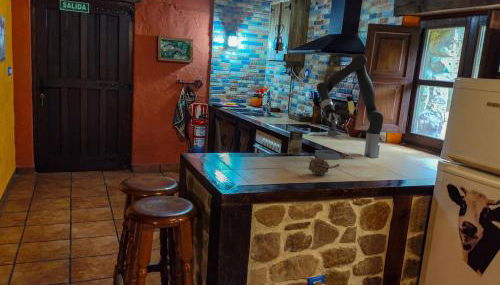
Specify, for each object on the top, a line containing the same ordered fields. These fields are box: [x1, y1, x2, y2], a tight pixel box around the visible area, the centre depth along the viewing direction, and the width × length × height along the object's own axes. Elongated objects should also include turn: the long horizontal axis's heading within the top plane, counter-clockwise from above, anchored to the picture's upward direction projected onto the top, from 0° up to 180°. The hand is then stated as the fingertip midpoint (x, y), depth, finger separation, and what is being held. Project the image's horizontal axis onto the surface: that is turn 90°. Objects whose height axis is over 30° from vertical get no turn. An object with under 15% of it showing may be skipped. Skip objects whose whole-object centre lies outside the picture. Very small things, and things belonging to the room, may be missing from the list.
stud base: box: [339, 152, 354, 160], centre depth 285 cm, size 11×11×5 cm
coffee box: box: [287, 130, 304, 156], centre depth 290 cm, size 9×6×16 cm
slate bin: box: [314, 149, 341, 162], centre depth 281 cm, size 12×13×5 cm
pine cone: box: [308, 157, 340, 175], centre depth 238 cm, size 22×10×10 cm, turn 124°
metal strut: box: [327, 120, 338, 138], centre depth 279 cm, size 4×4×10 cm
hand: (334, 127), depth 277 cm, fingers closed on metal strut, 4 cm apart
